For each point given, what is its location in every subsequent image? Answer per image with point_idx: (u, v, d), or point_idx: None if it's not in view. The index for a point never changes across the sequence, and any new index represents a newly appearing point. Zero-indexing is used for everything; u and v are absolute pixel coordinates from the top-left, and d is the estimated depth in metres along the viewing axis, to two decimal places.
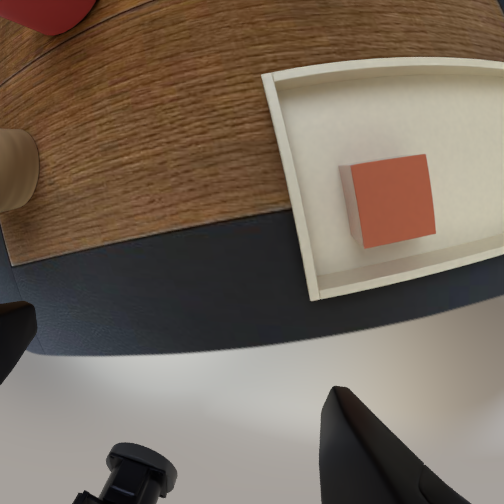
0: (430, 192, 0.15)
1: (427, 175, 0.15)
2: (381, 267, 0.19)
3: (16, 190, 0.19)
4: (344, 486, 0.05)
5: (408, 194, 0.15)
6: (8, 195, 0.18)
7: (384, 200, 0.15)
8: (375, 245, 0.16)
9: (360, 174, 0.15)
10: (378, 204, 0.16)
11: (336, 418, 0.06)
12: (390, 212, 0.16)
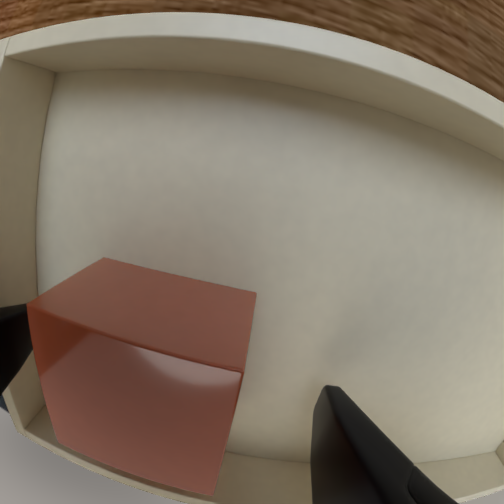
0: (221, 446, 0.05)
1: (225, 416, 0.05)
2: None
3: None
4: (334, 486, 0.05)
5: (155, 426, 0.06)
6: None
7: (93, 407, 0.06)
8: (76, 450, 0.06)
9: (43, 333, 0.05)
10: (79, 405, 0.06)
11: (327, 417, 0.06)
12: (103, 429, 0.06)
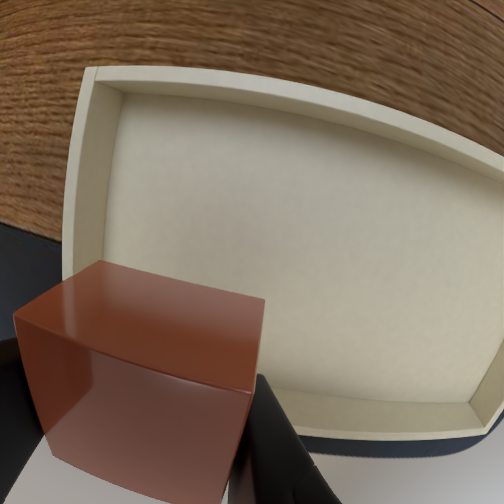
0: (227, 468, 0.05)
1: (231, 439, 0.05)
2: None
3: None
4: (236, 476, 0.05)
5: (154, 446, 0.05)
6: None
7: (87, 424, 0.05)
8: (72, 464, 0.06)
9: (31, 346, 0.05)
10: (72, 422, 0.05)
11: None
12: (100, 446, 0.05)
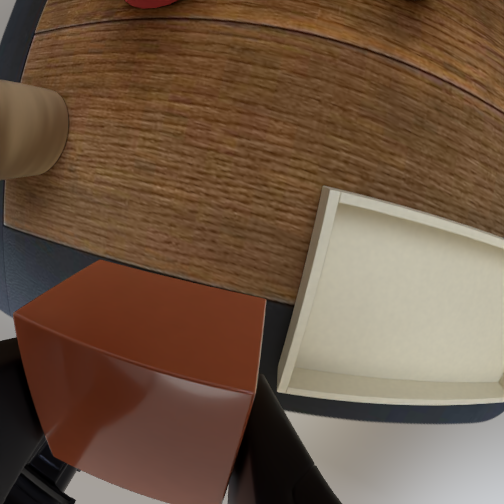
0: (228, 469, 0.05)
1: (232, 440, 0.05)
2: (346, 381, 0.21)
3: (33, 166, 0.17)
4: (236, 475, 0.05)
5: (155, 447, 0.05)
6: (24, 170, 0.17)
7: (87, 424, 0.05)
8: (72, 465, 0.06)
9: (31, 346, 0.05)
10: (72, 422, 0.05)
11: None
12: (100, 447, 0.05)
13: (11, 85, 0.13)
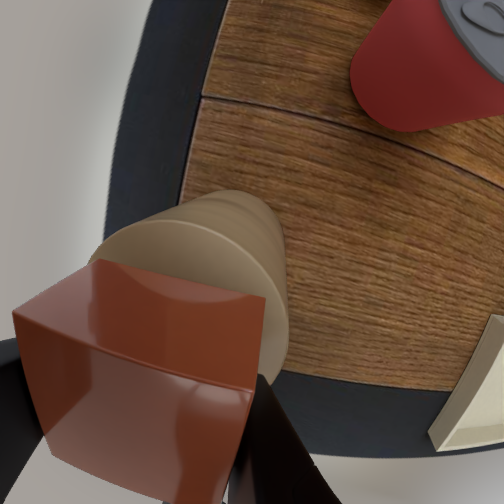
0: (227, 467, 0.05)
1: (231, 438, 0.05)
2: (469, 433, 0.22)
3: None
4: (236, 475, 0.05)
5: (154, 445, 0.05)
6: None
7: (86, 423, 0.05)
8: (71, 464, 0.06)
9: (30, 344, 0.04)
10: (72, 421, 0.05)
11: None
12: (99, 446, 0.05)
13: (264, 220, 0.14)
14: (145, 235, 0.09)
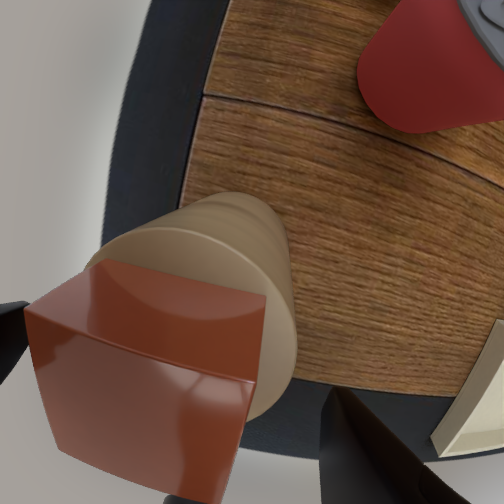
0: (230, 458, 0.05)
1: (234, 429, 0.05)
2: (472, 438, 0.21)
3: None
4: (344, 486, 0.05)
5: (160, 437, 0.05)
6: None
7: (94, 416, 0.05)
8: (77, 458, 0.06)
9: (41, 340, 0.05)
10: (79, 414, 0.05)
11: (336, 418, 0.06)
12: (106, 439, 0.05)
13: (269, 225, 0.14)
14: (143, 244, 0.08)
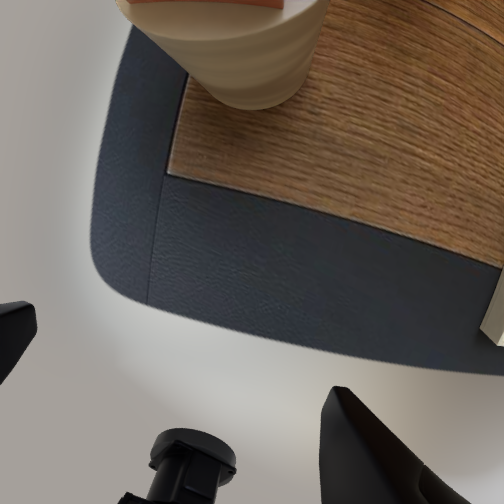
0: None
1: None
2: None
3: (284, 92, 0.15)
4: (344, 486, 0.05)
5: None
6: (279, 92, 0.14)
7: None
8: None
9: None
10: None
11: (336, 418, 0.06)
12: None
13: None
14: None
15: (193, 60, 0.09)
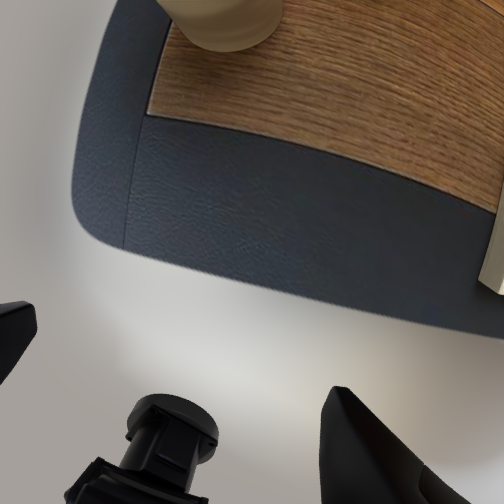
0: None
1: None
2: None
3: (256, 28, 0.14)
4: (344, 486, 0.05)
5: None
6: (249, 25, 0.14)
7: None
8: None
9: None
10: None
11: (336, 418, 0.06)
12: None
13: None
14: None
15: None
